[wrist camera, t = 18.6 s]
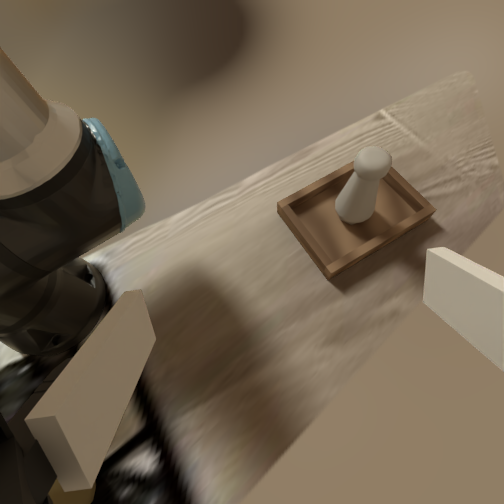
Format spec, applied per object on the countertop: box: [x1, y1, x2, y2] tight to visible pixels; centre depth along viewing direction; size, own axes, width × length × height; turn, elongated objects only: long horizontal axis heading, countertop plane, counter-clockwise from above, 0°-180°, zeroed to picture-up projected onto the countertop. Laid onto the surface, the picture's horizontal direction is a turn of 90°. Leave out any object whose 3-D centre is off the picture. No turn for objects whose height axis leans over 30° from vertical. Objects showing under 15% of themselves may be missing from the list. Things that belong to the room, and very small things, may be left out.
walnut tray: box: [277, 161, 436, 280], centre depth 46 cm, size 19×14×3 cm
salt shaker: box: [335, 146, 392, 225], centre depth 41 cm, size 6×6×13 cm
